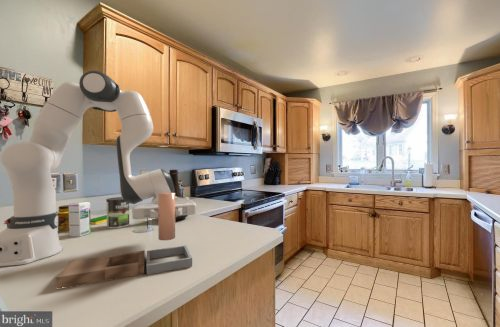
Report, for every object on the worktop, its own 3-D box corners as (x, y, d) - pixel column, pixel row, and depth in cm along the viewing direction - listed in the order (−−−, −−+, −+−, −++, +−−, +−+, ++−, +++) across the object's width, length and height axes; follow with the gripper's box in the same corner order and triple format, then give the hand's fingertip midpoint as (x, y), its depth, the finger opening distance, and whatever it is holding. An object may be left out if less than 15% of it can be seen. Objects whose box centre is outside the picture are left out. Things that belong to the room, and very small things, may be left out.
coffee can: (133, 224, 124) (133, 197, 124) (113, 229, 115) (113, 200, 115) (122, 222, 129) (122, 196, 129) (102, 227, 120) (102, 199, 120)
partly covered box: (56, 289, 60) (56, 277, 60) (69, 271, 70) (69, 261, 70) (144, 273, 68) (143, 263, 68) (144, 259, 78) (144, 250, 78)
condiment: (54, 233, 110) (54, 207, 110) (60, 229, 118) (60, 204, 118) (73, 231, 113) (73, 206, 113) (78, 227, 121) (78, 203, 121)
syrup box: (80, 237, 104) (79, 203, 104) (68, 236, 105) (68, 203, 105) (91, 233, 110) (90, 201, 110) (80, 232, 111) (80, 201, 111)
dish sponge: (84, 225, 127) (84, 220, 127) (106, 219, 140) (106, 214, 140) (95, 225, 125) (95, 220, 125) (116, 219, 139) (116, 215, 139)
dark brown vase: (195, 215, 144) (194, 168, 144) (184, 223, 126) (183, 169, 126) (167, 215, 146) (166, 169, 146) (152, 222, 128) (151, 170, 128)
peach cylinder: (158, 241, 72) (158, 194, 72) (158, 236, 77) (158, 192, 77) (176, 239, 74) (176, 193, 74) (174, 234, 79) (174, 192, 79)
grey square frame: (146, 274, 67) (146, 265, 67) (147, 258, 79) (146, 250, 79) (192, 266, 72) (192, 258, 72) (186, 252, 84) (186, 245, 84)
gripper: (132, 200, 83) (129, 206, 71) (192, 196, 91) (199, 202, 78) (132, 218, 83) (129, 228, 71) (192, 213, 91) (199, 221, 78)
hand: (167, 214), depth 75 cm, fingers closed on peach cylinder, 5 cm apart
